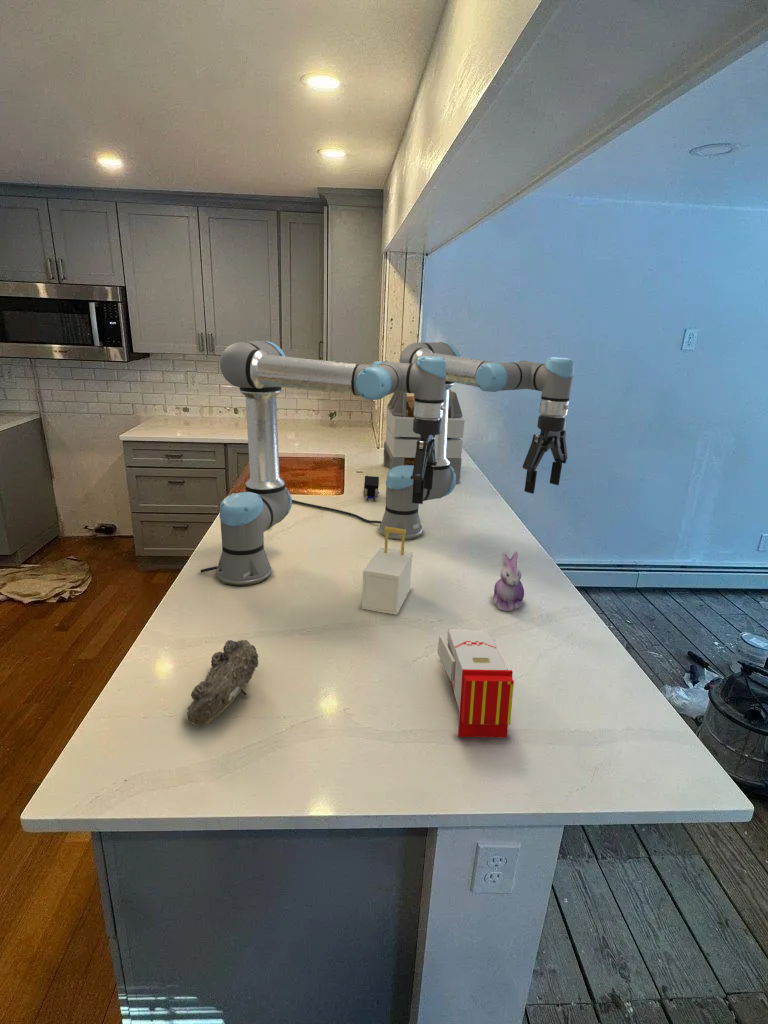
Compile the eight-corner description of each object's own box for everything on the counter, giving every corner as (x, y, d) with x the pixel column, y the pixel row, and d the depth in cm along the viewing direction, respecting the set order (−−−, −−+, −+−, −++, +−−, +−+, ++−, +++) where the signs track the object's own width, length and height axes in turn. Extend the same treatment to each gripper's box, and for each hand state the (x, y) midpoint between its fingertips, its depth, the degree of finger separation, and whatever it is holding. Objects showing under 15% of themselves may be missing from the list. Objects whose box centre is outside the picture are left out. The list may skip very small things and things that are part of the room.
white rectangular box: (379, 551, 160) (381, 522, 157) (412, 556, 158) (414, 527, 155) (363, 574, 146) (364, 543, 143) (398, 580, 144) (400, 548, 141)
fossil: (208, 642, 124) (257, 611, 119) (238, 671, 127) (287, 641, 122) (164, 718, 104) (221, 685, 99) (200, 750, 107) (257, 719, 102)
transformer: (382, 463, 289) (386, 382, 275) (445, 464, 293) (451, 384, 279) (390, 482, 257) (394, 392, 243) (460, 483, 261) (468, 394, 247)
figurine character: (379, 506, 231) (378, 490, 244) (379, 489, 227) (379, 474, 241) (362, 505, 230) (363, 490, 244) (363, 488, 227) (363, 474, 240)
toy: (488, 613, 130) (523, 677, 101) (484, 667, 133) (517, 744, 104) (435, 612, 130) (455, 676, 101) (432, 666, 133) (451, 743, 103)
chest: (377, 584, 163) (378, 553, 159) (409, 589, 161) (411, 558, 157) (361, 608, 149) (363, 575, 146) (396, 615, 147) (398, 580, 144)
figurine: (506, 615, 149) (513, 563, 144) (482, 598, 157) (488, 548, 152) (534, 608, 153) (541, 558, 148) (509, 592, 161) (516, 543, 156)
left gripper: (433, 428, 135) (427, 511, 142) (449, 411, 158) (443, 484, 165) (402, 425, 137) (398, 508, 144) (423, 409, 159) (418, 481, 167)
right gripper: (540, 422, 147) (529, 499, 154) (586, 413, 163) (575, 483, 171) (515, 417, 152) (506, 492, 159) (563, 409, 168) (552, 477, 176)
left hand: (422, 495), depth 154 cm, fingers open, 13 cm apart
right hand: (541, 488), depth 165 cm, fingers open, 13 cm apart
